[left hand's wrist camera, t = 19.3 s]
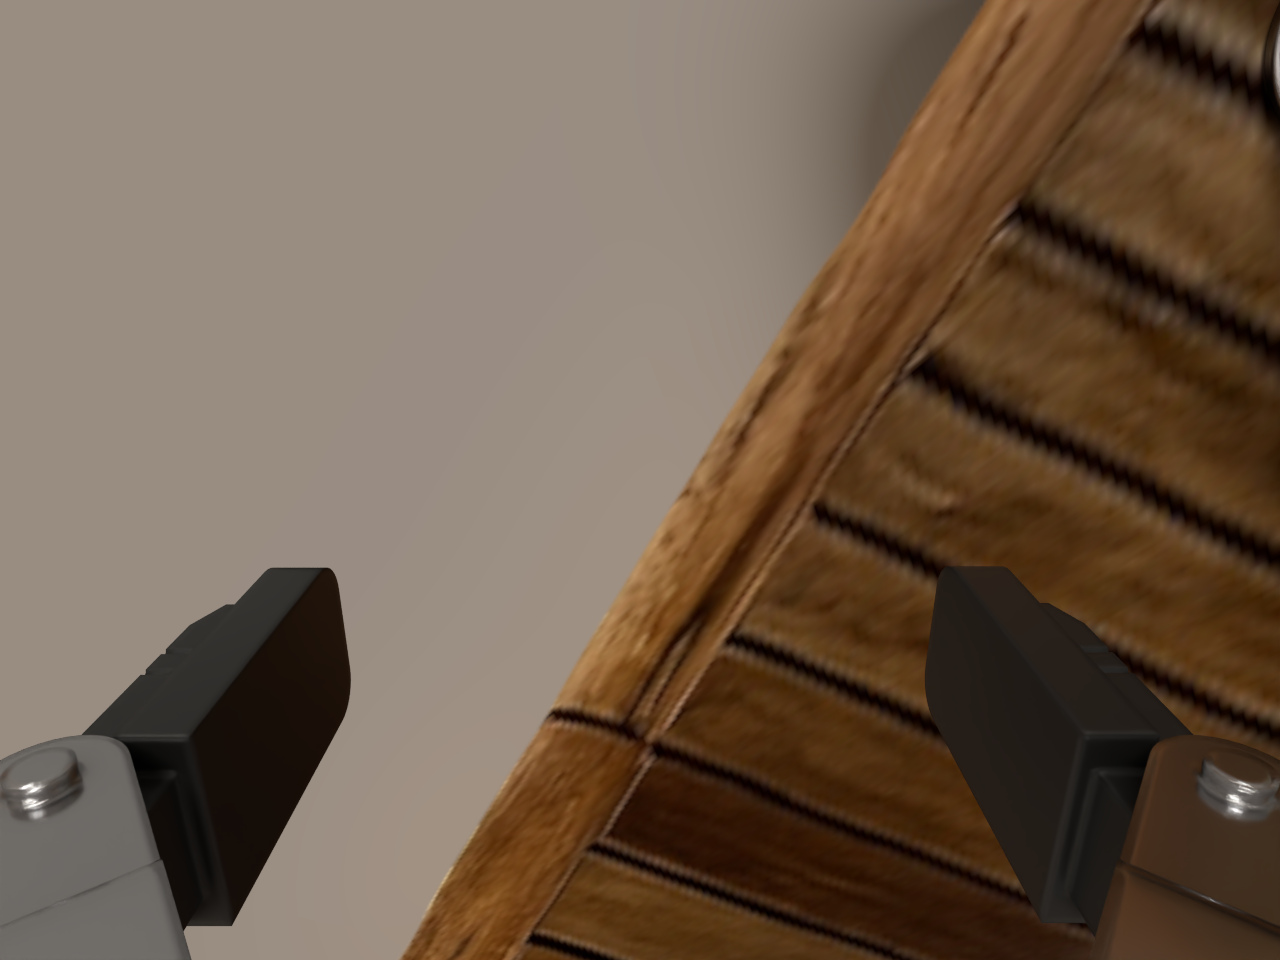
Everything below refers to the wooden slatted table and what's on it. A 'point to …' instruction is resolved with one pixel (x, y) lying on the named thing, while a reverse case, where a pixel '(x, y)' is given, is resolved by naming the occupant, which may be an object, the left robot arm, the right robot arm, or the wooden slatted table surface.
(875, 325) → the wooden slatted table surface
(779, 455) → the wooden slatted table surface
